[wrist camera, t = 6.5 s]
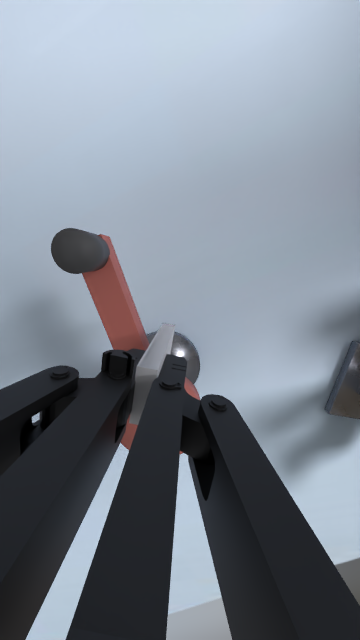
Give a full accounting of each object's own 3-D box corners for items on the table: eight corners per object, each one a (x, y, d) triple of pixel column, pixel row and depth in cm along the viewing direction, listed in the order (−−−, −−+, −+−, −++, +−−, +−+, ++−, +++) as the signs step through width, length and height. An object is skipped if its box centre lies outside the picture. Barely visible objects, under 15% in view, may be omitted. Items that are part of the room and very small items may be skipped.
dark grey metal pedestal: (136, 324, 23) (119, 352, 16) (206, 337, 24) (216, 370, 17) (126, 387, 25) (107, 435, 18) (191, 398, 25) (195, 449, 19)
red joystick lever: (49, 252, 15) (3, 250, 11) (140, 220, 14) (126, 207, 10) (135, 448, 18) (123, 497, 15) (209, 428, 18) (218, 474, 14)
